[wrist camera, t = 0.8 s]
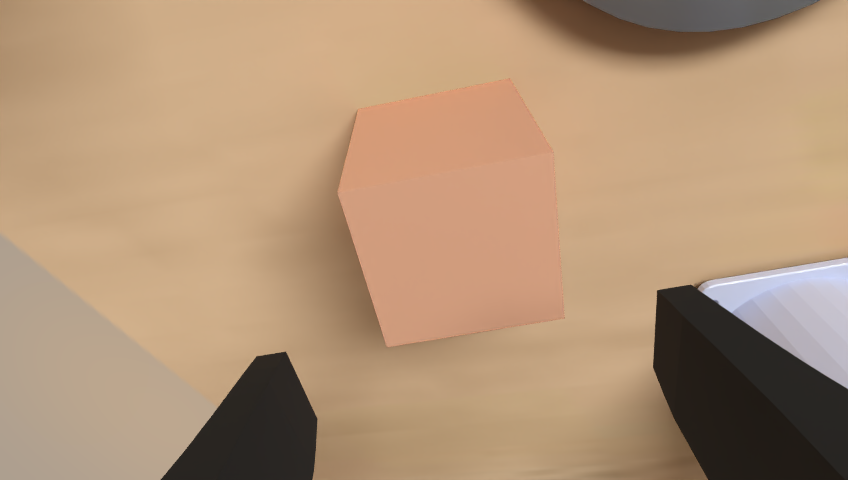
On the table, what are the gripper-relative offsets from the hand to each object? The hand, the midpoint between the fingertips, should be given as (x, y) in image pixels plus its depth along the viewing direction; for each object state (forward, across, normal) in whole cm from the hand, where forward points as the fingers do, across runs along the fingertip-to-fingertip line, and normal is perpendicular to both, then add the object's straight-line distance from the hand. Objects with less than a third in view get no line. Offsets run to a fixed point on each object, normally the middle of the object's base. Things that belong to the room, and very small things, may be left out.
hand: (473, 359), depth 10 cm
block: (+10, 0, 0) cm, 10 cm away
